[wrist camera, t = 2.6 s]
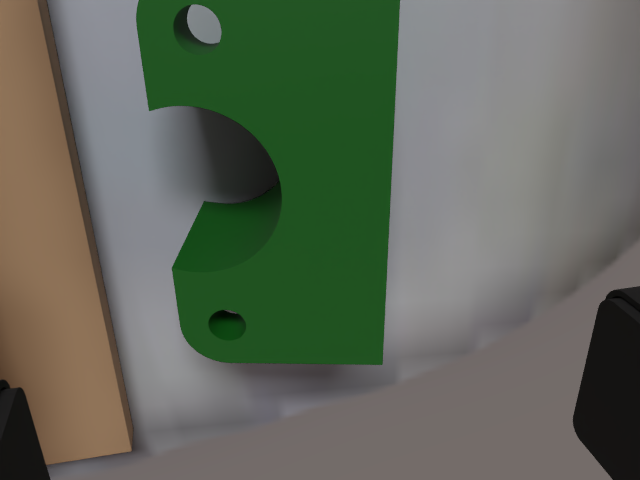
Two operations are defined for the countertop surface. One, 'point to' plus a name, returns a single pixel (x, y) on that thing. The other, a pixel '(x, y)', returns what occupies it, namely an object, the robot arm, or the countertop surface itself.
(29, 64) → the brown shallow square tray
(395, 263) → the countertop surface
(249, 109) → the clamp
